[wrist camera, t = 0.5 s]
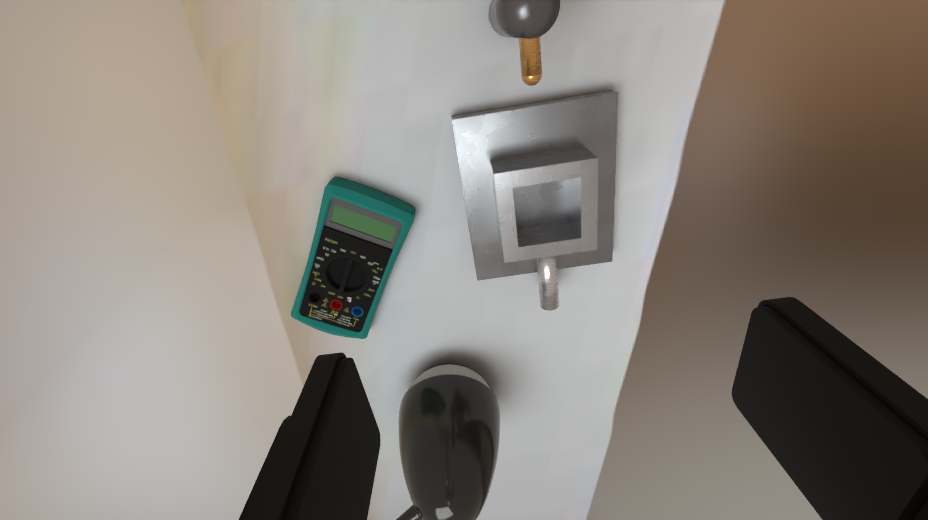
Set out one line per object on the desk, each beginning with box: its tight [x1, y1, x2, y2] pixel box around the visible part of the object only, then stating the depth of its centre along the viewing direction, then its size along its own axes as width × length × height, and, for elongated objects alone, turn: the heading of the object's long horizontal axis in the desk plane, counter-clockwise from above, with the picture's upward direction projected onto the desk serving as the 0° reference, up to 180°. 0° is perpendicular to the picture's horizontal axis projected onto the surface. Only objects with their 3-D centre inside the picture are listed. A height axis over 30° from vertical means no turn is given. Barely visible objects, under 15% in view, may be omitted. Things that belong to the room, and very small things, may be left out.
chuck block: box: [452, 90, 618, 310], centre depth 32 cm, size 16×12×5 cm
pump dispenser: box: [396, 364, 500, 520], centre depth 38 cm, size 10×10×15 cm
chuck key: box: [489, 0, 560, 85], centre depth 24 cm, size 8×3×9 cm, turn 9°
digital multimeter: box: [291, 177, 415, 339], centre depth 36 cm, size 7×15×3 cm, turn 157°
